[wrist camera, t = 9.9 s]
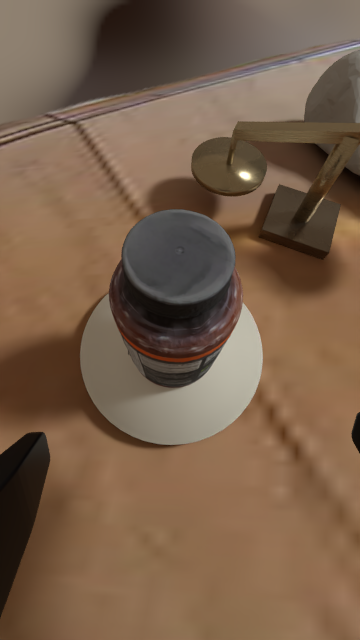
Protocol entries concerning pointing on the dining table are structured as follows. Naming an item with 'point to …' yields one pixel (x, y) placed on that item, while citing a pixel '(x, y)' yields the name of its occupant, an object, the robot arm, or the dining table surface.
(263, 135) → the balance
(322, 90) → the decorative stone
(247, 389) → the cream dish
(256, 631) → the dining table surface
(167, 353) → the supplement bottle
